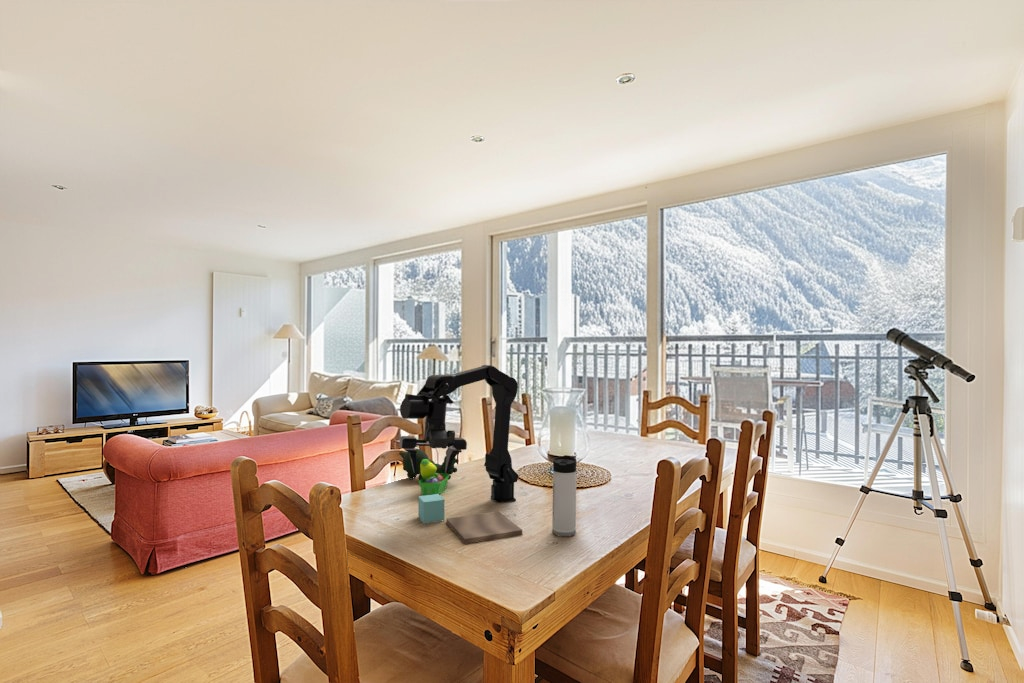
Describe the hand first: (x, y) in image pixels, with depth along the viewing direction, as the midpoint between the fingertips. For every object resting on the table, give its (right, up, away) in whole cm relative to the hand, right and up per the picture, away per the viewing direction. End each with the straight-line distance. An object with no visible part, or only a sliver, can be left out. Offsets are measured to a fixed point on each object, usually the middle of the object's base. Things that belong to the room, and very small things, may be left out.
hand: (430, 473), depth 144 cm
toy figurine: (-8, -13, +39) cm, 42 cm away
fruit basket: (-3, -13, +24) cm, 28 cm away
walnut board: (+16, -13, -8) cm, 22 cm away
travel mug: (+37, -14, -10) cm, 41 cm away
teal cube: (0, -13, 0) cm, 13 cm away
